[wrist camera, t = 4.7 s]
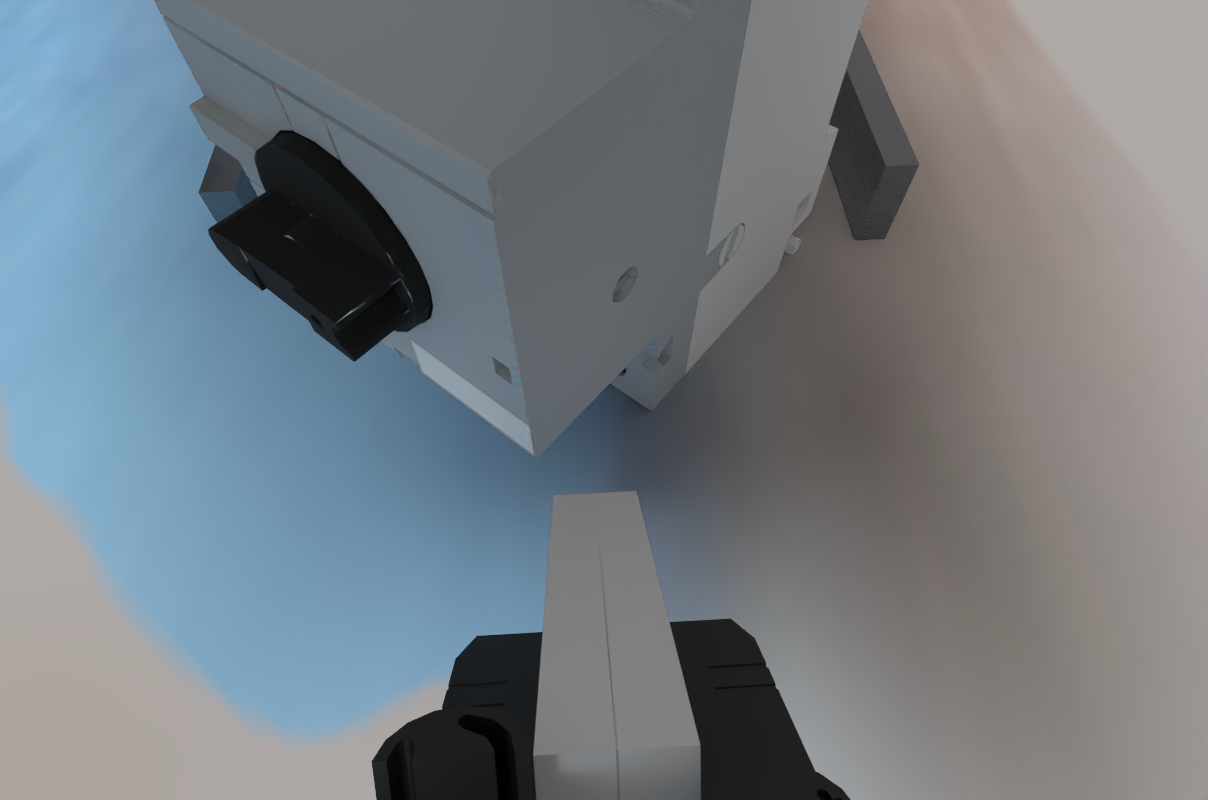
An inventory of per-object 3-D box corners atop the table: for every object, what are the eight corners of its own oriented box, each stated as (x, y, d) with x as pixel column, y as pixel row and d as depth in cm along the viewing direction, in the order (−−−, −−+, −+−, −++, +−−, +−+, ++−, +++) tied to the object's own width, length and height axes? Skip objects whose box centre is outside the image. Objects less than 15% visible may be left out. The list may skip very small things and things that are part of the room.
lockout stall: (322, -12, 32) (298, -87, 29) (786, -26, 32) (801, -100, 30) (243, 265, 23) (198, 192, 20) (885, 238, 23) (919, 165, 21)
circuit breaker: (306, 414, 20) (-219, -351, 7) (620, 153, 26) (638, -517, 13) (501, 578, 17) (226, -147, 5) (799, 248, 23) (1036, -467, 11)
